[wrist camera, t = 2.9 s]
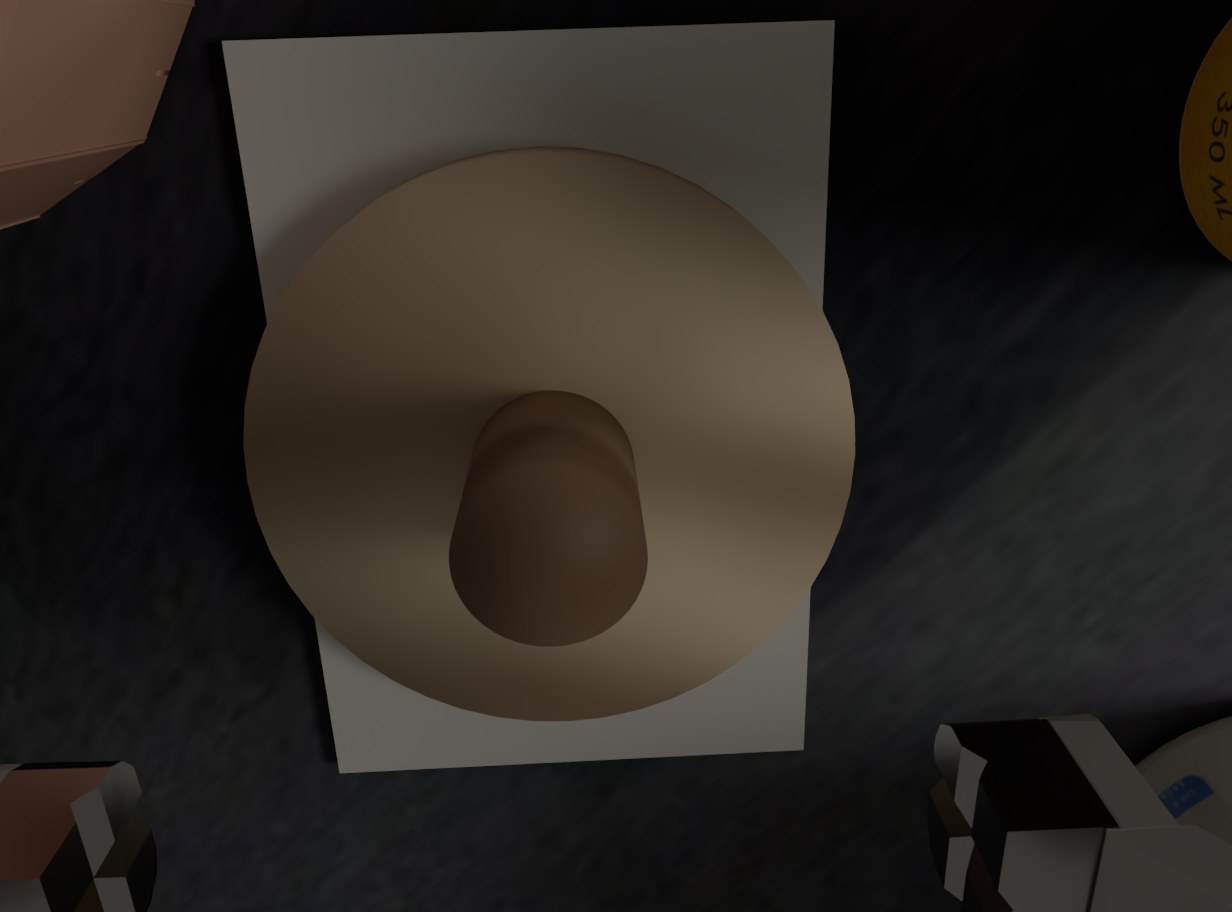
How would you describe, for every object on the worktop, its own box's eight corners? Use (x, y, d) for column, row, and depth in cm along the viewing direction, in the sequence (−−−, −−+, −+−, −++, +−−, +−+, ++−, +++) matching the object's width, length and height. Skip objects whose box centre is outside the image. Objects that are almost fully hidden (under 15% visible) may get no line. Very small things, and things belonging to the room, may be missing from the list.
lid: (827, 676, 24) (893, 836, 19) (305, 702, 23) (236, 871, 18) (855, 134, 19) (951, 161, 14) (213, 158, 19) (89, 192, 14)
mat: (799, 739, 25) (803, 749, 24) (342, 762, 24) (339, 773, 24) (829, 20, 19) (835, 20, 18) (229, 41, 19) (221, 40, 18)
